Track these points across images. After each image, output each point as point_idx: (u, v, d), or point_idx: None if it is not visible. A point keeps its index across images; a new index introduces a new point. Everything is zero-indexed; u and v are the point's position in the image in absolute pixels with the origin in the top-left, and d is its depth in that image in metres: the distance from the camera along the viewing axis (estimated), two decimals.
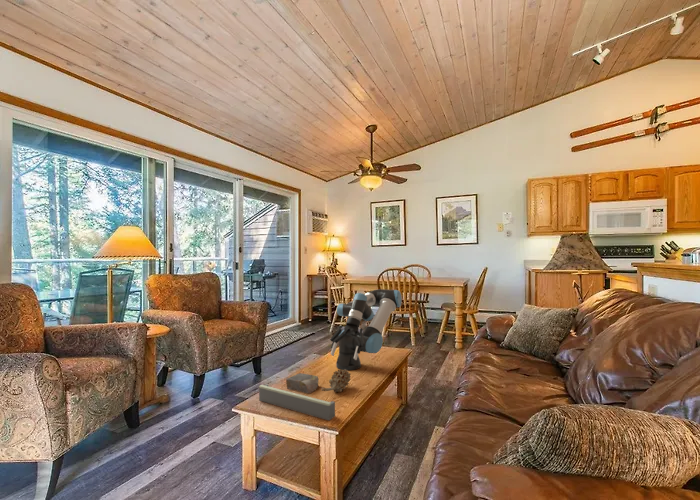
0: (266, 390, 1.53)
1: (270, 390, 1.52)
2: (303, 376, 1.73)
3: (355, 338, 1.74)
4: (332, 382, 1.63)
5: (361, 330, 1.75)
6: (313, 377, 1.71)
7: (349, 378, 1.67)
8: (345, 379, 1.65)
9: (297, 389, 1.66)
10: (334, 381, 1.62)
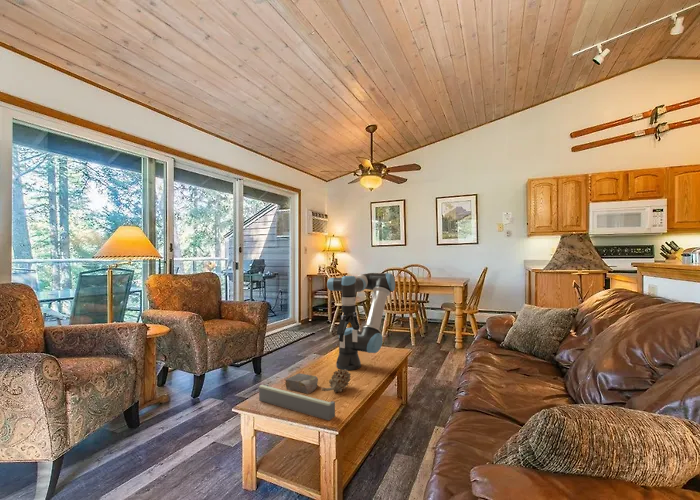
0: (266, 390, 1.53)
1: (270, 390, 1.52)
2: (302, 376, 1.73)
3: (354, 323, 1.79)
4: (332, 382, 1.63)
5: (356, 314, 1.81)
6: (312, 377, 1.71)
7: (349, 378, 1.67)
8: (345, 379, 1.65)
9: (296, 389, 1.66)
10: (334, 381, 1.62)
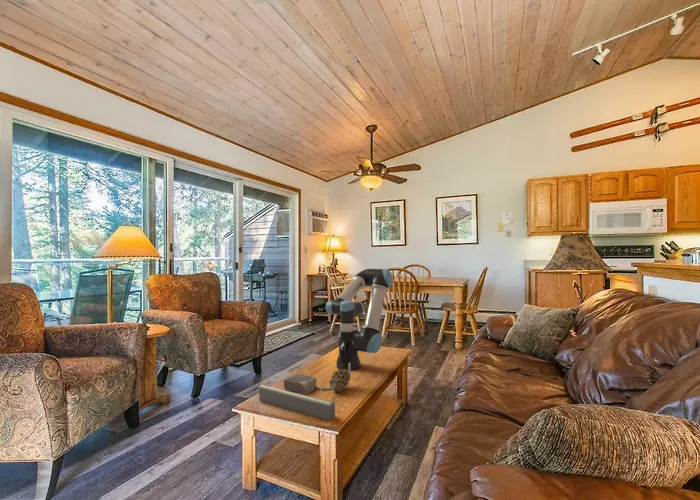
0: (266, 390, 1.53)
1: (270, 390, 1.52)
2: (301, 377, 1.72)
3: (350, 352, 1.74)
4: (332, 382, 1.63)
5: (354, 343, 1.78)
6: (311, 378, 1.70)
7: (349, 378, 1.67)
8: (345, 379, 1.65)
9: (295, 390, 1.65)
10: (334, 381, 1.62)
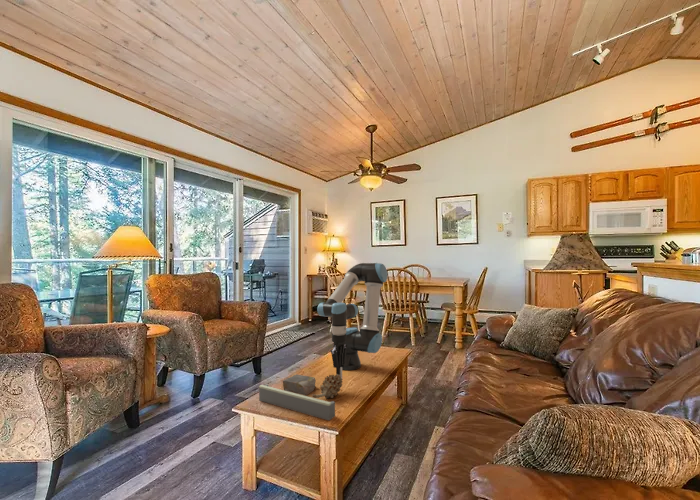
0: (266, 390, 1.53)
1: (270, 390, 1.52)
2: (300, 377, 1.71)
3: (342, 356, 1.67)
4: (323, 388, 1.56)
5: (346, 347, 1.71)
6: (310, 378, 1.69)
7: (341, 384, 1.60)
8: (337, 385, 1.58)
9: (294, 391, 1.64)
10: (325, 387, 1.55)
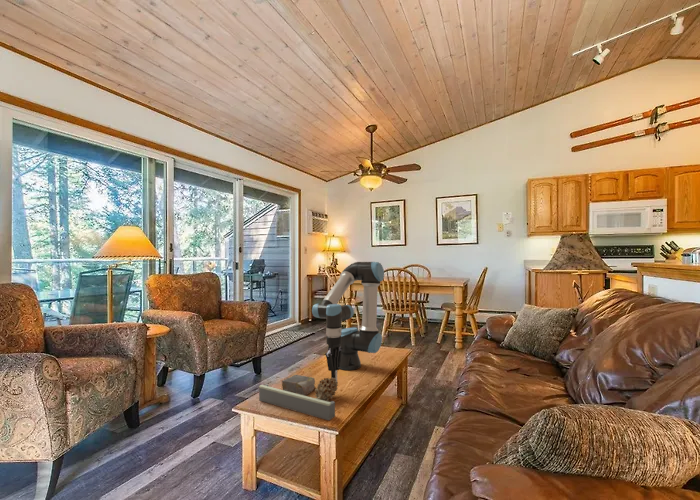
0: (266, 390, 1.53)
1: (270, 390, 1.52)
2: (299, 377, 1.71)
3: (337, 359, 1.63)
4: (318, 392, 1.51)
5: (341, 349, 1.67)
6: (309, 379, 1.69)
7: (336, 387, 1.56)
8: (332, 388, 1.54)
9: (293, 391, 1.64)
10: (320, 391, 1.51)
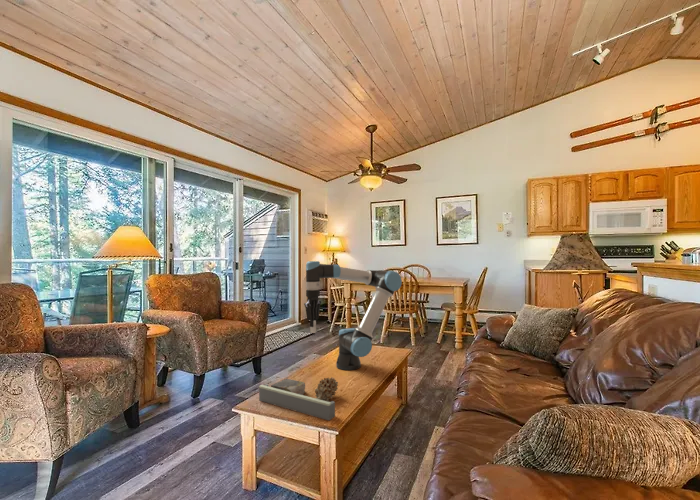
0: (266, 390, 1.53)
1: (270, 390, 1.52)
2: (289, 382, 1.65)
3: (315, 310, 1.80)
4: (318, 392, 1.51)
5: (320, 303, 1.84)
6: (299, 383, 1.63)
7: (336, 387, 1.56)
8: (332, 388, 1.54)
9: None
10: (320, 391, 1.51)
